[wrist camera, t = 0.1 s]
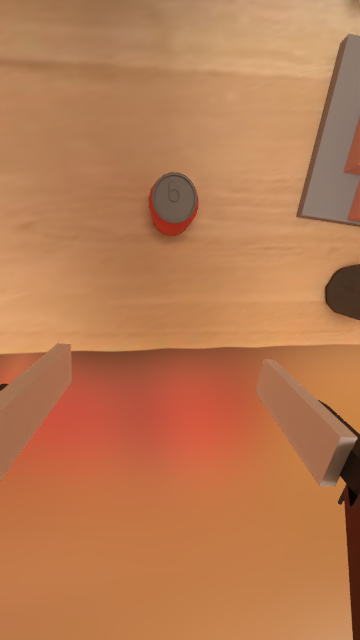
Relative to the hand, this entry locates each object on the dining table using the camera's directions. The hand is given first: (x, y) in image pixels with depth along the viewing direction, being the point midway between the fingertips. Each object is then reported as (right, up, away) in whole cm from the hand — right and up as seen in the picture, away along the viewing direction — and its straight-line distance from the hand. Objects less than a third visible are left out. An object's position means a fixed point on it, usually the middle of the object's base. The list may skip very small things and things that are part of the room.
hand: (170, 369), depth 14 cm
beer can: (-1, +22, +23) cm, 32 cm away
